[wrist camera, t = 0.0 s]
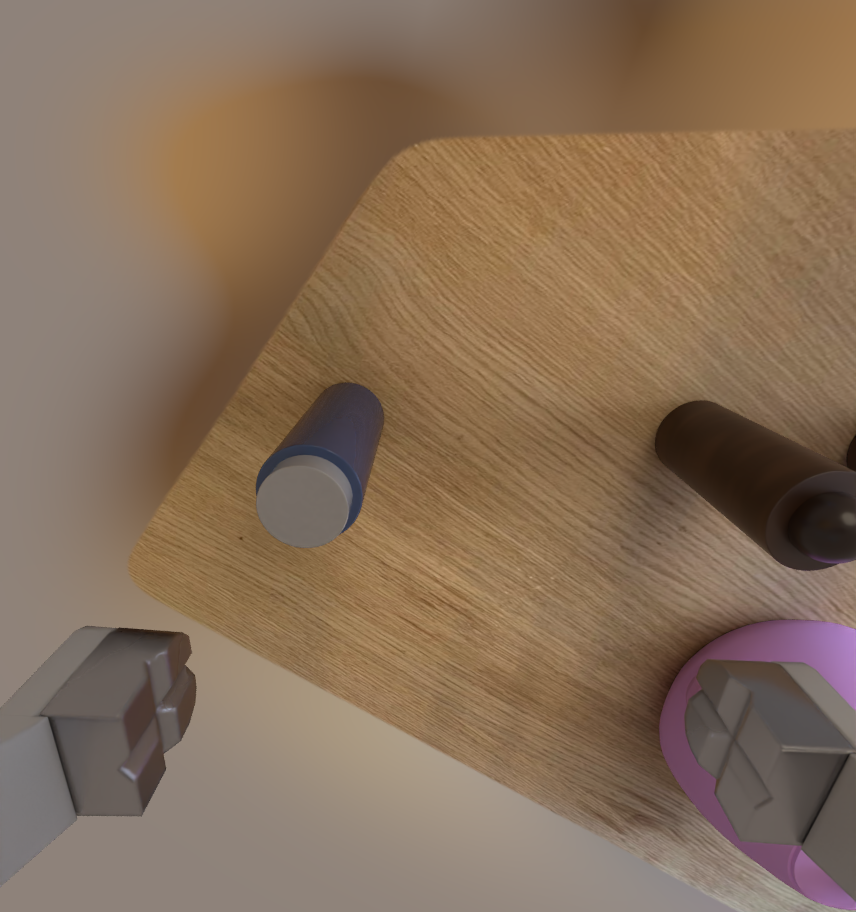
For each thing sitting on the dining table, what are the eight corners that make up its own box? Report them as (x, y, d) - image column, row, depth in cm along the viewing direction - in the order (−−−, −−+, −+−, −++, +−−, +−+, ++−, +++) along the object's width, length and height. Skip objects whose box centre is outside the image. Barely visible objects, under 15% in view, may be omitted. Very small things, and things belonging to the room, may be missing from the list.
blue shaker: (344, 367, 30) (292, 432, 18) (399, 416, 31) (382, 507, 19) (298, 418, 31) (222, 510, 19) (352, 463, 32) (310, 575, 20)
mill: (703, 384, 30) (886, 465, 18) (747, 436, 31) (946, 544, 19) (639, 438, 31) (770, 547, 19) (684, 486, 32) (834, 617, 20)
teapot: (944, 692, 39) (1197, 902, 26) (764, 813, 44) (901, 1037, 31) (734, 522, 33) (925, 683, 21) (556, 682, 38) (619, 891, 26)
